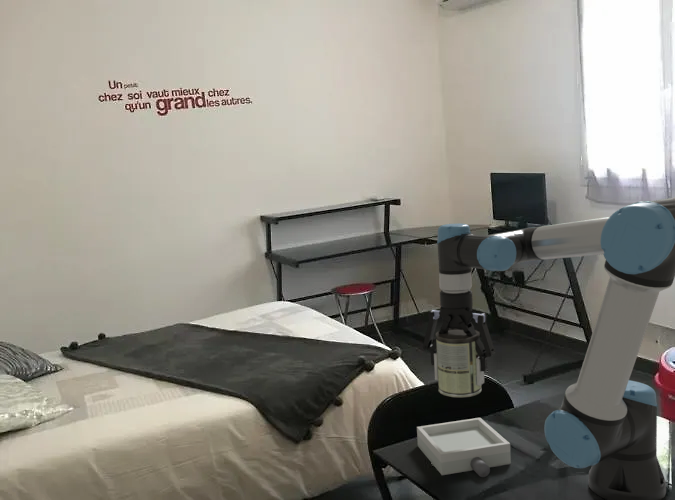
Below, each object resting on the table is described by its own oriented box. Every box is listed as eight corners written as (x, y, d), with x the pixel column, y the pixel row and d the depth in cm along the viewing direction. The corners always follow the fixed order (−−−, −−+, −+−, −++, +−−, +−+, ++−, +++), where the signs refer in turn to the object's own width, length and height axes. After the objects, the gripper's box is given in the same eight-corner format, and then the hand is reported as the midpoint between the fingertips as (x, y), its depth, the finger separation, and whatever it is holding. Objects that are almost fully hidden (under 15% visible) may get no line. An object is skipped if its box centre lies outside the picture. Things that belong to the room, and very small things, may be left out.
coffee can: (437, 383, 172) (434, 328, 170) (479, 382, 171) (477, 326, 169) (439, 398, 162) (436, 339, 160) (484, 397, 161) (481, 338, 159)
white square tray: (518, 471, 158) (518, 450, 157) (448, 483, 155) (447, 461, 154) (480, 436, 178) (480, 417, 178) (417, 445, 175) (416, 426, 174)
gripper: (508, 289, 160) (510, 382, 163) (419, 284, 172) (423, 370, 175) (496, 295, 154) (499, 392, 157) (405, 290, 166) (409, 379, 169)
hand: (459, 381), depth 166 cm, fingers closed on coffee can, 10 cm apart
